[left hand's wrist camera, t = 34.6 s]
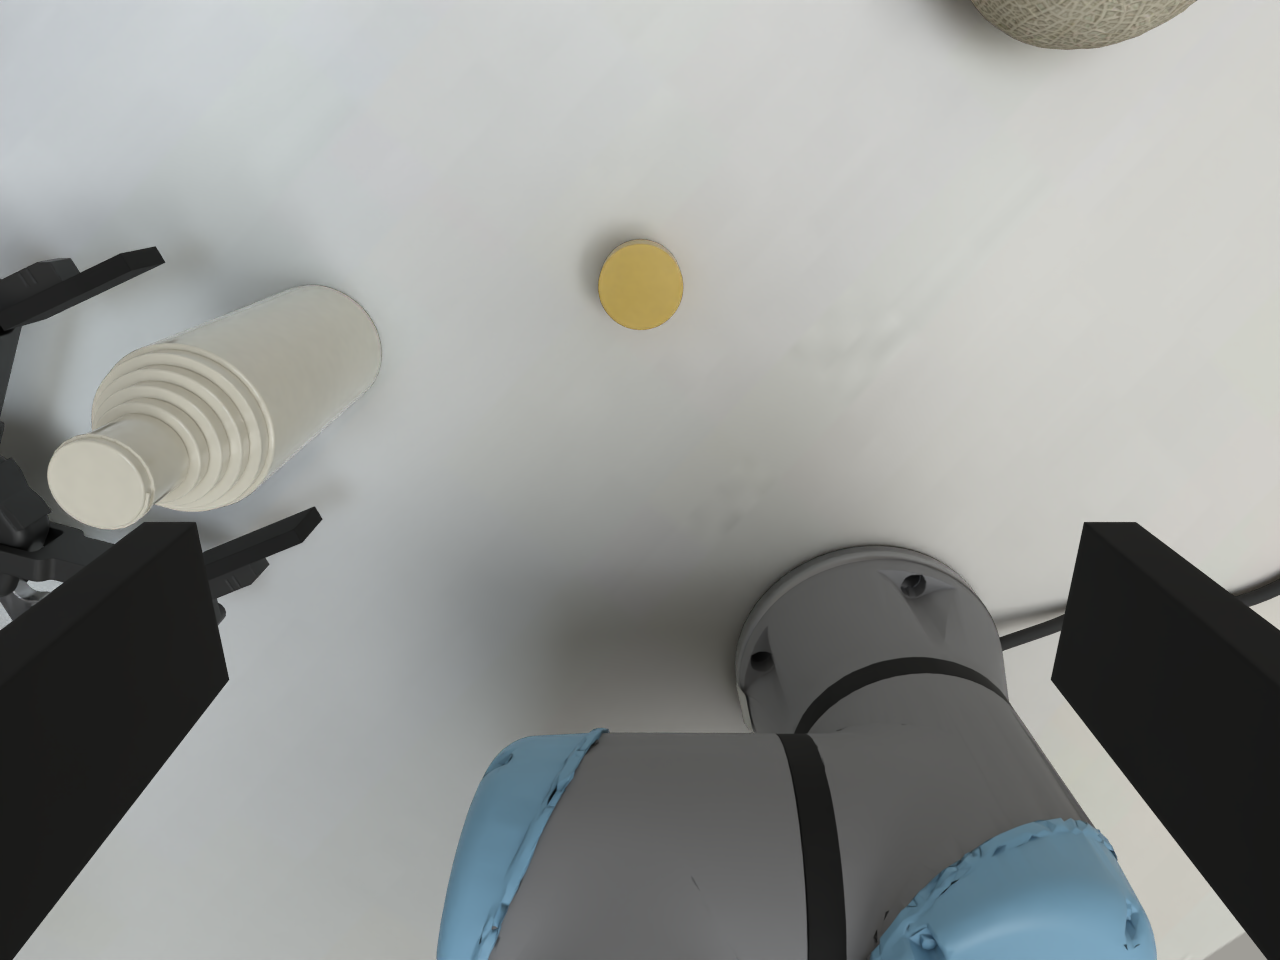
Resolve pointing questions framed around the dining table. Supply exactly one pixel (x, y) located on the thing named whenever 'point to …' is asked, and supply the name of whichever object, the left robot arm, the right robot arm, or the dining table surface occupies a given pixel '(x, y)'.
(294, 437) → the bottle
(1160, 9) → the fruit
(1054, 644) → the dining table surface
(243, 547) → the right robot arm
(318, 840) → the dining table surface
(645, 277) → the cap
